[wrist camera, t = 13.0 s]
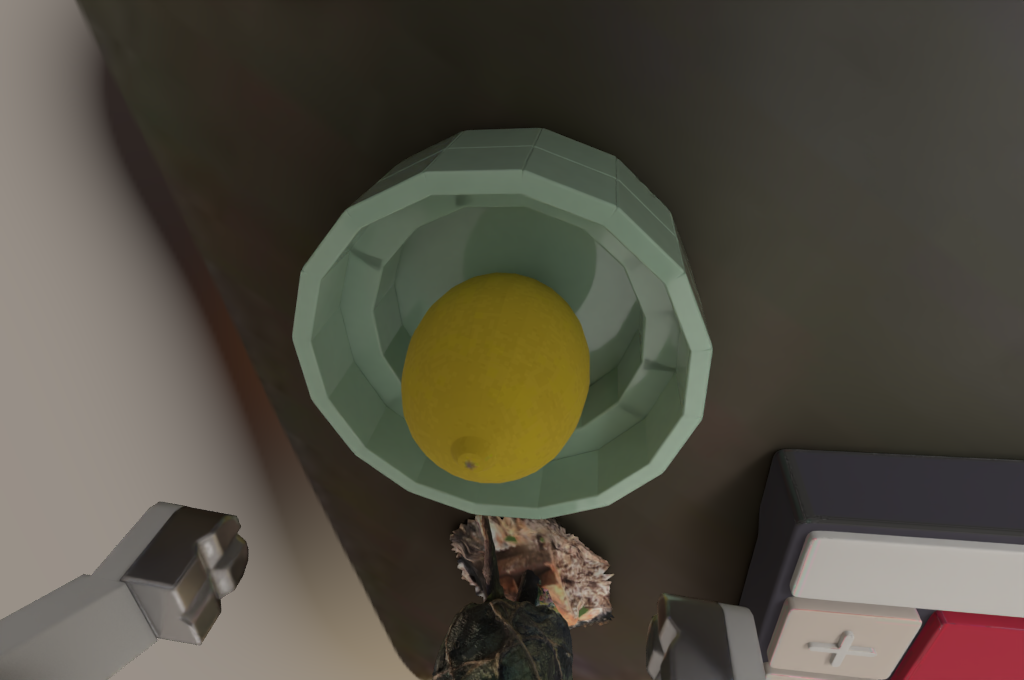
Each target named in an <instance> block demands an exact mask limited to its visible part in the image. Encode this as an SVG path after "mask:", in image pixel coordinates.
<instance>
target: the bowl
mask: <svg viewBox="0 0 1024 680" xmlns="http://www.w3.org/2000/svg"><path fill="white" fill-rule="evenodd" d="M496 272H498V273H516V274H519V275H523V276H526V277H530V278H533V279H536V280H538V281H539V282H541V283H543V284H545V285H547V286H549V287H550V288H552V289H553V290H554V291H555V292H556V293H557V294H559V295H560V296H561V297H562V298H563V299H564V300H565V301H566V302H567V303H568V304H569V306H570V307H571V309H572V310H573V312H574V313H575V315H576V316H577V318H578V319H579V321H580V323H581V326H582V329H583V332H584V335H585V338H586V341H587V345H588V348H589V355H590V384H589V390H588V394H587V398H586V401H585V404H584V407H583V410H582V414H581V417H580V419H579V422H578V424H577V426H576V428H575V430H574V432H573V434H572V435H571V437H570V438H569V440H568V441H567V443H566V444H565V445H564V447H563V448H562V450H561V451H560V452H559V453H558V455H557V456H556V457H555V458H554V459H552V460H551V461H550V462H549V463H547V464H546V465H545V466H543V467H542V468H541V469H539V470H538V471H536V472H535V473H532V474H530V475H528V476H525V477H523V478H521V479H518V480H514V481H509V482H504V483H479V482H473V481H468V480H465V479H462V478H460V477H457V476H454V475H452V474H450V473H449V472H447V471H445V470H444V469H442V468H440V467H439V466H437V465H436V464H435V463H434V462H433V461H432V460H430V459H429V458H428V457H427V456H426V455H425V454H424V452H423V451H422V450H421V449H420V447H419V446H418V444H417V443H416V442H415V440H414V439H413V437H412V435H411V433H410V430H409V427H408V425H407V422H406V420H405V417H404V414H403V406H402V393H401V380H402V372H403V368H404V363H405V359H406V355H407V351H408V347H409V343H410V340H411V338H412V336H413V333H414V332H415V330H416V328H417V327H418V325H419V324H420V322H421V320H422V319H423V317H424V316H425V314H426V312H427V311H428V309H429V308H430V307H431V306H432V305H433V304H434V303H435V302H436V301H437V300H438V299H439V298H441V297H442V296H443V295H444V294H445V293H446V292H448V291H449V290H450V289H451V288H453V287H454V286H456V285H458V284H460V283H462V282H464V281H466V280H468V279H470V278H472V277H475V276H480V275H485V274H490V273H496ZM292 337H293V338H292V340H293V343H294V346H295V349H296V353H297V356H298V359H299V362H300V365H301V368H302V371H303V375H304V378H305V381H306V384H307V387H308V390H309V393H310V396H311V400H312V401H313V403H314V404H315V405H316V406H317V408H318V409H319V410H320V411H321V413H322V414H323V415H324V417H325V418H326V419H327V420H328V422H329V423H330V424H331V425H332V427H333V428H334V429H335V430H336V432H337V433H338V434H339V436H340V437H341V438H342V439H343V441H344V442H345V443H346V444H347V446H348V447H349V448H350V449H351V451H352V452H353V453H354V454H355V455H356V456H357V457H359V458H360V459H362V460H363V461H365V462H366V463H368V464H369V465H371V466H372V467H373V468H375V469H376V470H378V471H379V472H381V473H382V474H384V475H385V476H386V477H388V478H389V479H391V480H392V481H394V482H395V483H397V484H398V485H399V486H401V487H402V488H404V489H405V490H407V491H408V492H411V493H414V494H417V495H419V496H422V497H425V498H428V499H431V500H434V501H436V502H439V503H442V504H445V505H448V506H451V507H454V508H456V509H459V510H462V511H465V512H468V513H471V514H475V515H485V516H498V517H511V518H524V519H537V520H540V519H548V518H552V517H557V516H562V515H567V514H572V513H576V512H581V511H586V510H591V509H596V508H600V507H605V506H609V505H610V504H612V503H614V502H615V501H617V500H619V499H620V498H622V497H624V496H625V495H627V494H629V493H630V492H632V491H634V490H636V489H637V488H639V487H641V486H642V485H644V484H646V483H647V482H649V481H651V480H652V479H654V478H656V477H657V476H659V475H661V474H662V473H663V472H664V471H665V470H666V469H667V467H668V466H669V464H670V463H671V462H672V460H673V459H674V457H675V456H676V455H677V453H678V452H679V451H680V449H681V448H682V446H683V445H684V444H685V442H686V441H687V440H688V438H689V437H690V435H691V434H692V433H693V431H694V430H695V428H696V427H697V426H698V424H699V423H700V422H701V420H702V417H703V414H704V407H705V400H706V393H707V387H708V380H709V373H710V366H711V360H712V353H713V349H712V342H711V338H710V335H709V331H708V327H707V323H706V320H705V316H704V312H703V309H702V305H701V301H700V297H699V294H698V290H697V286H696V282H695V279H694V275H693V272H692V269H691V266H690V264H689V261H688V258H687V255H686V252H685V250H684V247H683V244H682V241H681V238H680V236H679V233H678V230H677V227H676V224H675V222H674V219H673V216H672V213H671V212H669V209H668V208H667V207H666V206H665V205H664V204H663V203H662V202H661V201H660V200H659V199H658V198H657V197H656V196H655V195H654V194H653V193H652V192H651V191H650V190H649V189H648V188H647V187H646V186H645V185H644V184H643V183H642V182H641V181H640V180H639V179H638V178H637V177H636V176H635V175H634V174H633V173H632V172H631V171H630V170H629V169H628V168H627V167H626V166H625V165H624V164H623V163H622V162H621V161H620V160H619V159H616V157H615V156H613V155H611V154H608V153H605V152H603V151H600V150H598V149H595V148H593V147H590V146H588V145H585V144H583V143H580V142H578V141H575V140H572V139H570V138H567V137H565V136H562V135H560V134H557V133H555V132H552V131H550V130H547V129H544V128H518V129H489V130H465V131H464V132H459V133H457V134H455V135H453V136H451V137H449V138H447V139H445V140H443V141H441V142H439V143H437V144H435V145H433V146H431V147H429V148H427V149H425V150H423V151H421V152H419V153H417V154H415V155H413V156H411V157H409V158H407V159H405V160H403V161H401V162H400V163H399V164H397V165H396V166H395V167H394V168H393V169H392V170H390V171H389V172H388V173H387V174H386V175H385V176H384V177H382V178H381V179H380V180H379V181H378V182H377V183H375V184H374V185H373V186H372V187H371V188H370V189H369V190H368V191H366V192H365V193H364V194H363V195H362V196H361V197H360V198H358V199H357V200H356V201H355V202H354V203H353V204H351V205H350V206H349V207H348V208H347V209H346V210H345V211H344V212H343V213H342V214H341V216H340V217H339V219H338V220H337V221H336V223H335V224H334V225H333V227H332V228H331V229H330V231H329V232H328V234H327V235H326V236H325V238H324V239H323V240H322V242H321V243H320V244H319V246H318V247H317V248H316V250H315V251H314V253H313V254H312V255H311V257H310V258H309V259H308V261H307V262H306V263H305V265H304V266H303V268H302V270H301V273H300V281H299V288H298V296H297V303H296V310H295V318H294V325H293V333H292Z"/></svg>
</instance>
